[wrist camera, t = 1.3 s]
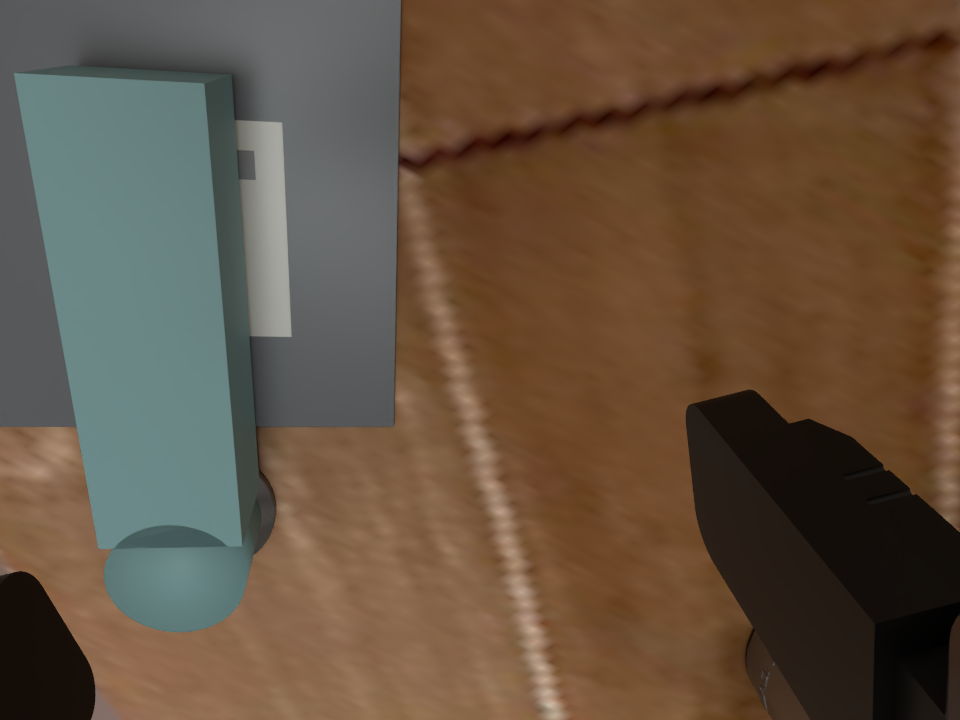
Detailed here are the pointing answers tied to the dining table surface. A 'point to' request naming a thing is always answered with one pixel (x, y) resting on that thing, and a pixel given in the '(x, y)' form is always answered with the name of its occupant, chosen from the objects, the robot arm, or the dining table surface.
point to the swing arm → (152, 326)
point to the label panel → (262, 184)
